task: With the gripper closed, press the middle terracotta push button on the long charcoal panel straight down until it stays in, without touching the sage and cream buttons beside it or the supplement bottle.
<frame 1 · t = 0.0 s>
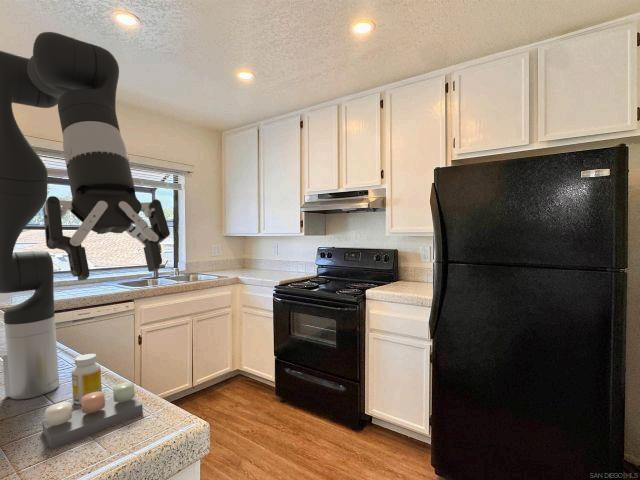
hand: (121, 274, 46), 31 cm above the countertop, tool tilted 20°, fingers open, 8 cm apart
supplement bottle: (88, 399, 79), on the countertop
sage button: (124, 391, 73), point 4 cm above the countertop, slide at 0.0 cm
terracotta button: (93, 402, 69), point 4 cm above the countertop, slide at 0.0 cm
button panel: (94, 422, 69), on the countertop
cream button: (58, 413, 65), point 4 cm above the countertop, slide at 0.0 cm
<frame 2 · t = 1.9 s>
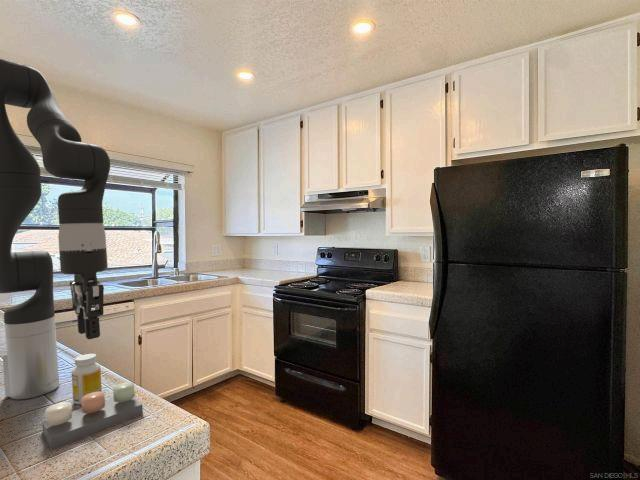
hand: (89, 334, 69), 17 cm above the countertop, tool pointing down, fingers open, 5 cm apart
nothing on the countertop moved.
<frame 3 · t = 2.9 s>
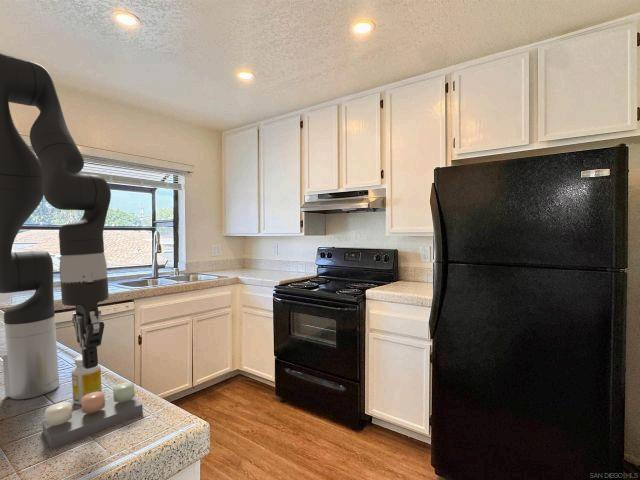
hand: (90, 366, 69), 11 cm above the countertop, tool pointing down, fingers closed
nothing on the countertop moved.
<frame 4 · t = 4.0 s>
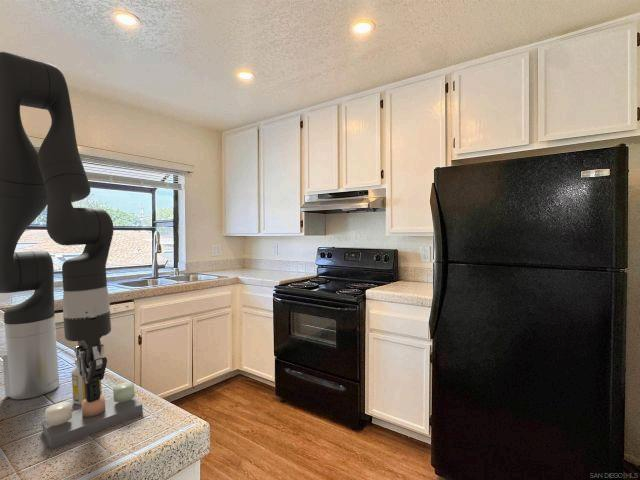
hand: (93, 399, 69), 5 cm above the countertop, tool pointing down, fingers closed
terracotta button: (93, 405, 69), point 3 cm above the countertop, slide at 0.7 cm, touching gripper
everything else where it was.
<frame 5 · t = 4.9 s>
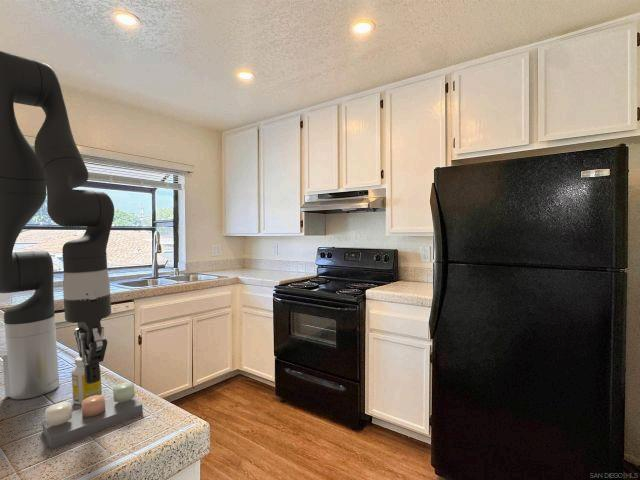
hand: (92, 381, 69), 8 cm above the countertop, tool pointing down, fingers closed
terracotta button: (93, 405, 69), point 3 cm above the countertop, slide at 0.7 cm
everything else where it was.
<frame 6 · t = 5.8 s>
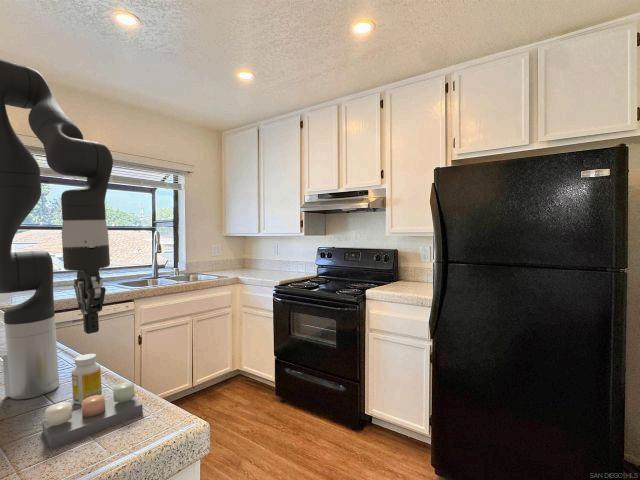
hand: (91, 332, 70), 18 cm above the countertop, tool pointing down, fingers closed
nothing on the countertop moved.
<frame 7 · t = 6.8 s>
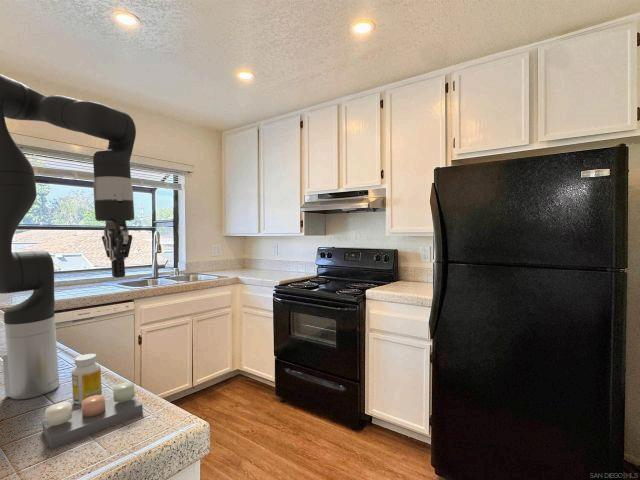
hand: (118, 277, 79), 27 cm above the countertop, tool pointing down, fingers closed
nothing on the countertop moved.
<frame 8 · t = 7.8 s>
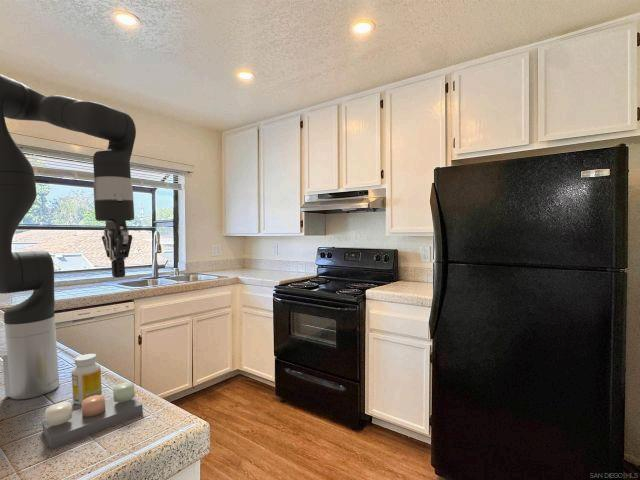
hand: (118, 277, 79), 27 cm above the countertop, tool pointing down, fingers closed
nothing on the countertop moved.
at the end: terracotta button slide at 0.7 cm; sage button slide at 0.0 cm; cream button slide at 0.0 cm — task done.
